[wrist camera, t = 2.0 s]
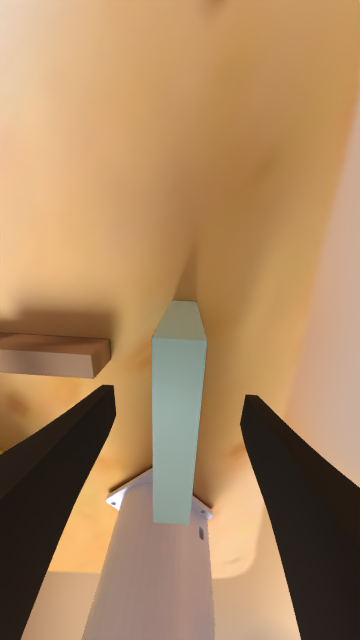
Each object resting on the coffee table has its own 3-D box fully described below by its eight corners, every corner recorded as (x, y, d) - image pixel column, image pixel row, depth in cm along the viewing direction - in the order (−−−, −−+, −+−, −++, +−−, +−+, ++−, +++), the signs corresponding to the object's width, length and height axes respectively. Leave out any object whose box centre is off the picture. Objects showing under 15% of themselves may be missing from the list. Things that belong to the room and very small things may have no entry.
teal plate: (171, 300, 12) (151, 337, 5) (196, 301, 12) (207, 341, 5) (168, 409, 15) (153, 522, 8) (188, 411, 15) (189, 525, 8)
